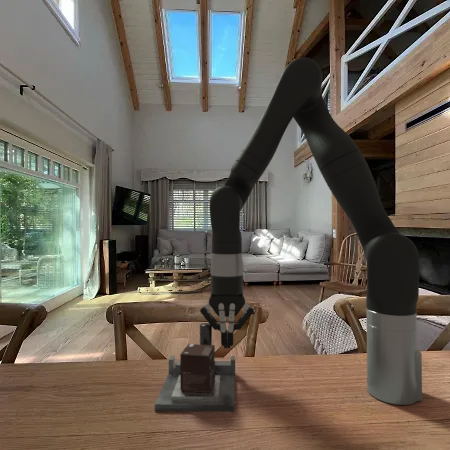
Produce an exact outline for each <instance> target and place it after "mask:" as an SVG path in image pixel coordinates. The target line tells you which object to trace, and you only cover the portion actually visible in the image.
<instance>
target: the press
mask: <svg viewBox="0 0 450 450" xmlns="http://www.w3.org/2000/svg"><path fill="white" fill-rule="evenodd" d="M235 380H236V356H235V355H231V356H230V360H215V381H214V383H213V386H212V388H211V390H210V392H194V391H181V390H180V360H177V361H176V356H175V355H170V356H169V358H168V374H167V376H166V378H165V380H164V382H163V385H162V387H161V390H160V392H159V394H158V397H157V398H156V400H155V402H154V412H227V413H228V412H233V413H234V412H235Z"/></svg>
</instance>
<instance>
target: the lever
mask: <svg viewBox="0 0 450 450" xmlns="http://www.w3.org/2000/svg"><path fill="white" fill-rule="evenodd" d="M212 331H213V328H212V326H211V325H210V324H209V322H202V323H200V324H199V345H213V332H212Z"/></svg>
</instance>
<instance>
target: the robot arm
mask: <svg viewBox="0 0 450 450" xmlns="http://www.w3.org/2000/svg"><path fill="white" fill-rule="evenodd" d="M322 86H323V73H322V69H321V67H320V65H319V64H318V63H317V62H316V60H314V59H312V58H310V57H299V58H296V59H294V60H292V61H290V62H289V63H288V64H287V66H285V67H284V69H283V71H282V73H281V74H280V77H279V79H278V82H277V84H276V87H275V89H274V91H273V94H272V96H271V98H270V101H269V103H268V104H267V107H266V109H265V110H264V112H263V114H262V116H261V118H260V120H259V121H258V122H257V125H256V127H255V129H254V130H253V132H252V133H251V135H250V137H249V138H248V140H247V142H246V143H245V145H244V146H243V148H242V150H241V151H240V152H239V154H238V156H237V157H236V159H235V160H234V162H233V164H232V166H231V169H230V173H229V176H228V178H227V179H226V181H225V183H224V184H223V185H221V186H219V187H217V188H215V189H214V190H213V192H212V193H211V196H210V199H209V217H210V225H211V234H212V235H211V261H210V271H209V272H210V297H209V299H208V302H207V303H206V304H205V305H202V306H201V308H200V313H201V315H202V316H203V317H204V319H205V320H206V322H207V323H209V324H210V325H211V326H212V330H215V331H220V344H221V347H223V349H231V347H233V346H234V332H235V331H239V330H241V329H242V328H243V327H244V325H245V324H246V323H247V321H248V320H249V319H250V318H251V316H252V315H253V313H254V312H255V311H254V306H252V305H249V304H248V303H247V302H246V299H245V297H244V265H243V264H244V261H243V253H242V252H243V251H242V250H243V247H242V246H243V242H242V241H243V240H242V239H243V238H242V237H243V236H242V232H241V229H240V227H241V225H240V224H241V223H240V222H241V211H242V209H243V208H244V206H245V204H246V202H247V200H248V199H249V198H250V195H251V194H252V191H253V189H254V187H255V185H256V184H257V182H258V181H259V180H260V178H261V177H262V176H263V174H264V173H265V171H266V169H267V168H268V166H269V165H270V163H271V162H272V159H273V157H274V156H275V153H276V152H277V149H278V147H279V145H280V143H281V141H282V139H283V136H284V134H285V132H286V130H287V129H288V127H289V124H290V123H291V121H292V120H294V121H295V122H296V124H297V125H298V127H299V128H300V130H301V131H302V133H303V135H304V137H305V140H306V142H307V144H308V147H309V149H310V153H311V154H312V156H313V159H314V161H315V163H316V166H317V168H318V170H319V172H320V174H321V176H322V177H323V179H324V181H325V183H326V185H327V187H328V188H329V190H330V192H331V193H332V195H333V197H334V198H335V200H336V202H337V203H338V205H339V206H340V207H341V210H343V211H344V213H345V214H346V216H347V217H348V219H349V221H350V222H351V224H352V226H353V228H354V230H355V233H356V235H357V237H358V240H359V242H360V245H361V247H362V251H363V253H364V258H365V260H366V297H365V302H366V303H365V304H366V305H365V307H366V314H365V315H366V388H367V389H366V390H367V391H368V393H369V394H370V395H371V396H372V397H374V398H376V399H378V400H379V401H382V402H384V403H387V404H391V405H399V406H408V405H412V404H415V403H416V402H422V401H423V359H422V358H423V354H422V352H421V351H420V350H418V343H417V342H418V340H417V339H418V337H417V336H418V333H417V332H418V331H417V328H418V327H417V323H418V321H417V306H418V305H417V304H418V300H419V293H420V291H419V290H420V259H419V258H420V257H419V251H418V249H417V246H416V245H415V243H414V242H413V241H412V240H411V239H410V238H409V237H407V236H405V235H403V234H401V233H400V231H399V230H398V228H397V227H396V225H395V224H394V223H393V221H392V219H391V218H390V216H389V214H388V212H386V210H385V208H384V206H383V203H382V200H381V197H380V194H379V191H378V188H377V184H376V181H375V179H374V176H373V174H372V171H371V170H370V169H371V168H370V167H369V164H368V163H367V160H366V159H365V157H364V155H363V153H362V152H361V150H360V148H359V147H358V145H357V143H355V141H354V139H352V137H351V136H350V135H349V134H348V132H347V131H345V130H344V129H343V128H342V127H341V126H340V125H338V123H337V122H336V121H335V119H334V117H332V114H331V113H330V110H329V109H328V107H327V104H326V101H325V99H324V97H323V96H324V95H323V94H322ZM211 308H212V309H211ZM212 310H213V311H214V313H215V314H216V315H217V316H218V317H219V322H218V320H217V319H216V318H215V316H214V315H213V314H212ZM241 310H242V314H241V315H240V317H239V318H238V320H237V321H236V322H235V317H236V316H237V315H238V314H239V313H240V312H241ZM226 317H227V318H228V327H227V319H226Z"/></svg>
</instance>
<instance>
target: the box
mask: <svg viewBox="0 0 450 450" xmlns="http://www.w3.org/2000/svg"><path fill="white" fill-rule="evenodd" d="M215 349H216V347H215V345H214V344H212V345H200V344H195V343H194V344H193V343H192V344H191V343H189V344H187V345H186V347H184V348H183V351H182V352H181V353H180V355H179V356H180V360H179V361H180V390H181V391H194V392H210V390H211V388H212V386H213V383H214V381H215V361H216V357H215V355H216V354H215V353H216V351H215Z"/></svg>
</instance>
